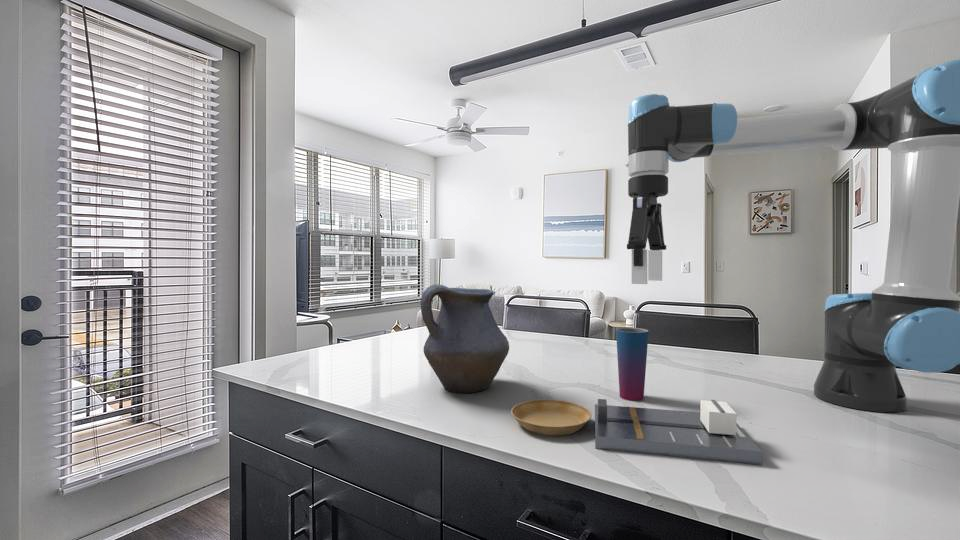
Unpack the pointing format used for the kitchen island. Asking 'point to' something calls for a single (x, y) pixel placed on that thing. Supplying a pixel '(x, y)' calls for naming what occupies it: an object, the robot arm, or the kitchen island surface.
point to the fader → (718, 417)
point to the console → (669, 434)
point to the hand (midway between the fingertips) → (647, 282)
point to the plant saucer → (551, 416)
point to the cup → (632, 362)
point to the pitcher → (463, 338)
